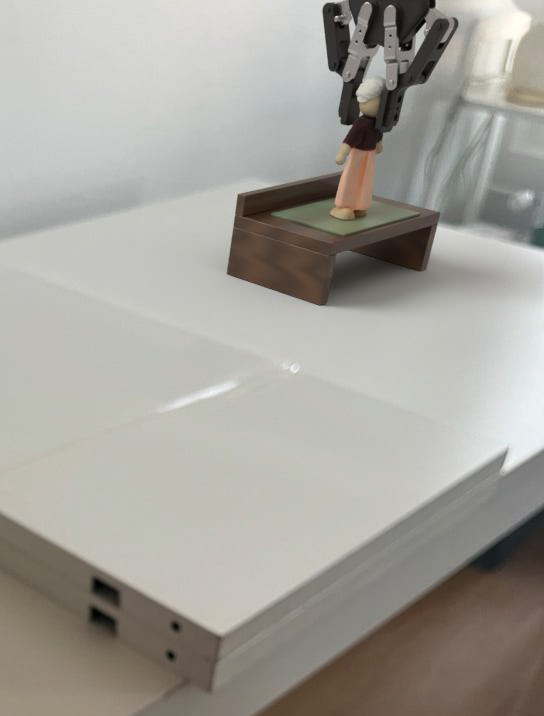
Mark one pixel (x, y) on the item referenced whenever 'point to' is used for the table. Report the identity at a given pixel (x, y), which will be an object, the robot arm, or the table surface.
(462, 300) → the table surface
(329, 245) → the shelf
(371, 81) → the grandmother figurine
